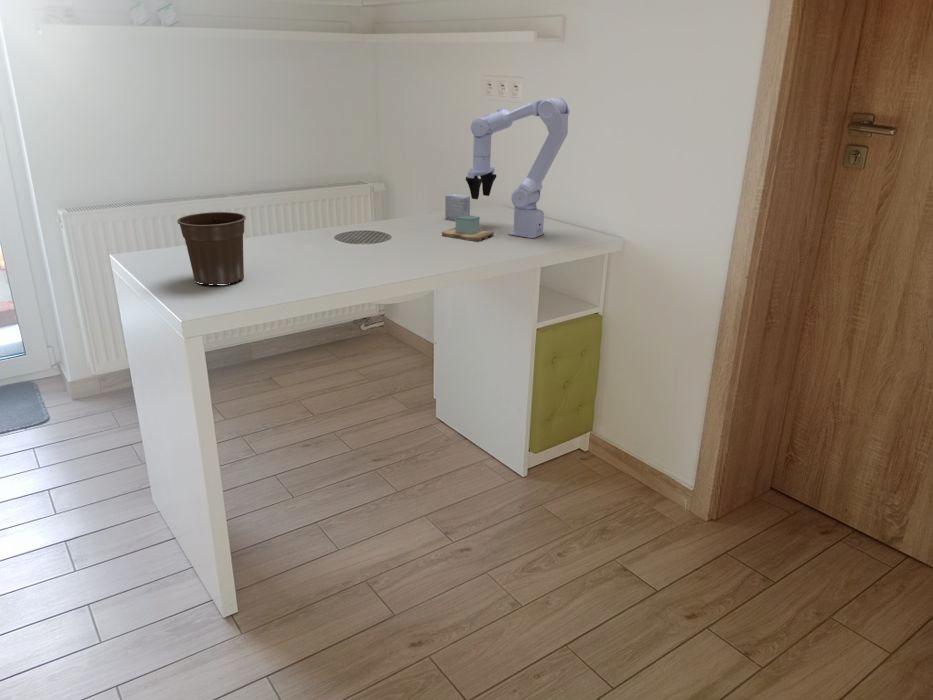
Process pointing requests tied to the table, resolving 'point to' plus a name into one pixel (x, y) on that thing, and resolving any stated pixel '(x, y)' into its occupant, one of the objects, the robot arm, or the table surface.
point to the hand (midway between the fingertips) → (480, 197)
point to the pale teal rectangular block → (467, 224)
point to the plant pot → (215, 246)
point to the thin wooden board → (474, 237)
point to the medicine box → (456, 206)
